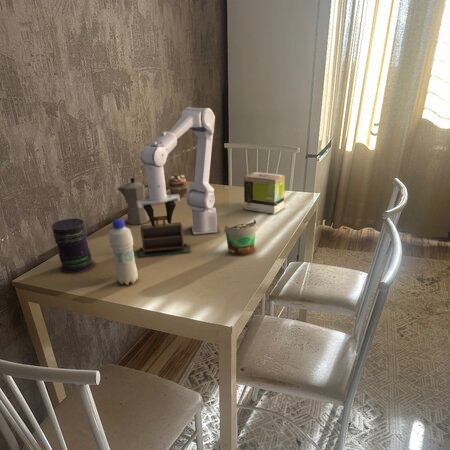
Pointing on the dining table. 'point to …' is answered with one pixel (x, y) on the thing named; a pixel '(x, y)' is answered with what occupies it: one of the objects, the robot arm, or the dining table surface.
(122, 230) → the bottle
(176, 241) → the drawer
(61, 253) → the storage jar
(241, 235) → the food container
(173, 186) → the cupcake
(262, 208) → the tea box
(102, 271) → the dining table surface
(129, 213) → the coffeepot
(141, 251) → the flat teal board
